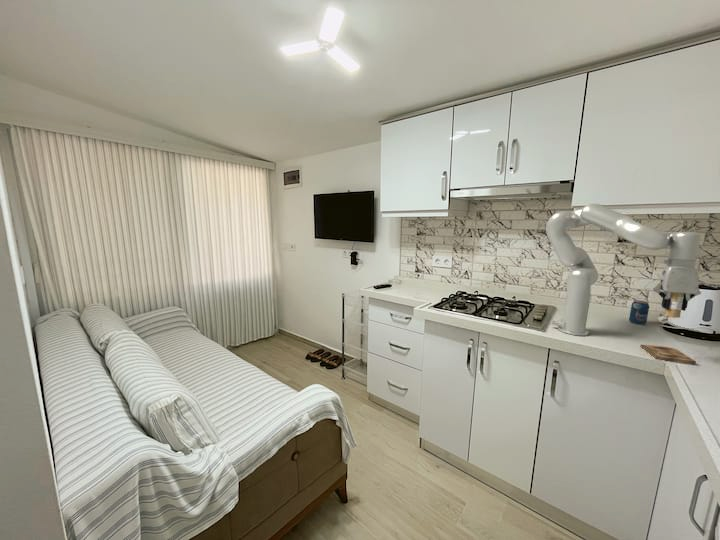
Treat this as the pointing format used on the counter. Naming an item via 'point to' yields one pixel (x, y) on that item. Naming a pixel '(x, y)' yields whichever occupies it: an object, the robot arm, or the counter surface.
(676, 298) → the sprinkles bottle
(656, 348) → the plinth
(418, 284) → the counter surface
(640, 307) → the soda can
